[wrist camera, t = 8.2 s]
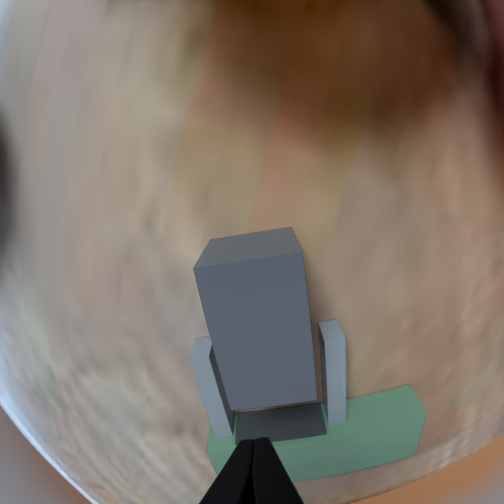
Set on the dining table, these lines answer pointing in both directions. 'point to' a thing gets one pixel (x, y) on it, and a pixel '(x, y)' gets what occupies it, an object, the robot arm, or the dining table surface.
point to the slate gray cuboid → (258, 317)
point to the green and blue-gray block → (314, 418)
